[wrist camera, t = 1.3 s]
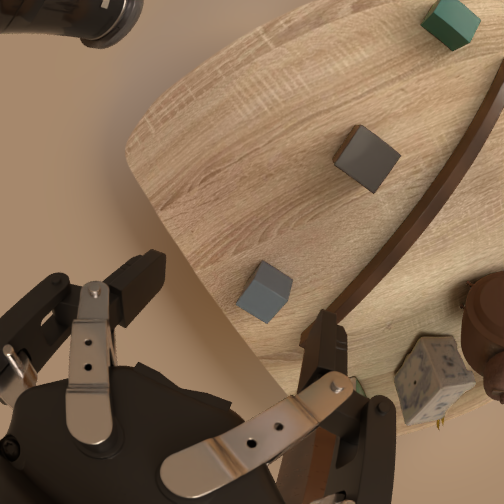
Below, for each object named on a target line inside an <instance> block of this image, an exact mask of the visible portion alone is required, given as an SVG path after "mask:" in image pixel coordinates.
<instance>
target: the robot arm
mask: <svg viewBox="0 0 504 504" xmlns="http://www.w3.org/2000/svg"><path fill="white" fill-rule="evenodd" d="M127 6H128V0H0V34H13V33H14V34H17V33H29V34H49V35H61V36H71V37H78V38H85V39H88V40H99V39H101V38H103V37H105V36H106V35H108V34H109V33H110V32H111V31H112V30H113V29H114V28H115V27H116V26H117V25H118V24H119V22H120V21H121V19H122V18H123V16H124V14H125V12H126V9H127ZM165 268H166V255H165V254H164V253H162V252H159V251H156V250H154V249H151V250H149V251H148V252H147V253H146V254H145V255H143V256H142V255H138V256H136V257H133V258H131V259H130V260H128V261H127V262H126V263H125V264H123V265H122V266H121V267H120V268H118V269H117V270H116V271H115V272H113V273H112V274H111V275H110V276H109V277H107V278H106V279H105V280H104V281H103V282H101V281H91V282H88V283H86V284H85V285H84V286H83V287H82V286H77V285H73V284H70V281H69V277H68V276H67V275H66V274H64V273H53V274H51V275H49V276H48V277H46V278H45V279H44V280H43V281H41V282H40V283H39V284H38V285H37V286H36V287H34V288H33V289H32V290H31V291H30V292H29V293H27V294H26V295H25V296H24V297H23V298H22V299H20V300H19V301H18V302H17V303H16V304H15V305H14V306H13V307H12V308H11V309H10V310H8V311H7V312H6V313H5V314H4V315H3V316H2V317H1V318H0V402H1V403H2V404H4V405H8V406H9V407H10V408H11V409H12V410H13V415H12V420H11V423H10V427H9V429H8V432H7V434H6V435H5V437H4V438H3V439H1V440H0V504H286V503H285V501H284V499H283V497H282V495H281V493H280V491H279V489H278V487H277V485H276V483H275V481H274V479H273V477H272V475H271V473H270V471H269V469H268V465H269V464H271V463H272V462H274V461H275V460H277V459H278V458H280V457H281V456H282V455H284V454H285V453H286V452H288V451H289V450H290V449H292V448H293V447H294V446H296V445H297V444H298V443H300V442H301V441H302V440H303V439H305V438H306V437H307V436H309V435H310V434H311V433H312V432H314V431H315V430H316V429H317V428H319V427H321V428H323V429H325V430H327V431H329V432H330V433H332V434H334V435H336V440H335V445H334V451H333V456H332V461H331V466H330V470H329V475H328V479H327V484H326V488H325V492H324V496H323V497H322V498H319V499H316V500H314V501H312V502H311V503H310V504H391V499H392V491H393V482H394V481H393V480H394V470H395V453H396V408H395V406H394V404H393V402H392V401H391V400H390V399H389V398H387V397H385V396H382V395H376V396H374V397H372V398H371V399H369V398H367V397H365V396H363V395H361V394H359V393H358V392H356V391H355V390H354V389H353V384H352V382H351V380H350V379H349V378H348V377H347V334H346V332H345V329H344V327H343V326H339V325H337V314H336V313H333V312H330V311H327V310H324V309H321V311H320V312H319V314H318V316H317V318H316V320H315V322H314V324H313V326H312V328H311V330H310V332H309V335H308V337H307V341H306V346H305V352H304V358H303V364H302V370H301V376H300V382H299V387H298V393H297V395H295V396H293V395H290V396H288V397H286V398H284V399H283V400H281V401H280V402H278V403H277V404H275V405H273V406H272V407H270V408H268V409H267V410H265V411H263V412H262V413H260V414H258V415H257V416H255V417H253V418H251V419H250V420H248V421H246V422H245V421H244V420H243V419H242V418H241V417H240V416H239V415H238V414H237V413H236V412H234V411H233V410H231V409H230V406H231V404H232V402H230V401H227V400H224V399H222V398H219V397H216V396H213V395H211V394H208V393H204V392H198V391H192V390H187V389H182V388H180V387H178V386H177V385H175V384H174V383H173V382H171V381H170V380H169V379H167V378H166V377H165V376H163V375H162V374H161V373H160V372H158V371H156V370H154V369H152V368H150V367H148V366H146V365H144V364H142V363H140V362H138V363H137V364H136V366H135V367H130V366H118V365H117V356H116V339H115V327H116V326H117V325H120V326H122V327H124V328H126V327H127V326H128V325H129V324H130V323H131V322H132V321H133V319H134V318H135V317H136V316H137V315H138V314H139V312H141V310H142V309H143V308H144V307H145V306H146V305H147V304H148V302H150V301H151V299H152V298H153V297H154V296H155V295H156V294H157V293H158V292H159V291H160V289H161V288H162V286H163V284H164V281H165ZM50 311H52V312H53V315H52V316H51V317H50V318H49V319H48V320H47V321H46V322H45V323H44V324H43V325H42V326H41V322H42V320H43V318H44V317H45V316H46V315H47V314H49V313H50ZM70 334H71V342H70V356H69V378H67V379H63V380H60V381H55V382H51V383H47V384H43V385H39V386H36V382H37V373H38V372H39V371H40V370H41V368H42V367H43V366H44V365H45V364H46V362H47V361H48V360H49V359H50V358H51V356H52V355H53V354H54V353H55V352H56V350H57V349H58V348H59V347H60V346H61V345H62V343H63V342H64V341H65V340H66V339H67V338H68V337H69V336H70Z"/></svg>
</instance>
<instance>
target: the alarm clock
mask: <svg viewBox="0 0 504 504" xmlns="http://www.w3.org/2000/svg"><path fill="white" fill-rule="evenodd" d="M466 285H469V286H470V287H471V289H470V290H469V293H468V295H467V299H466V304H465V306H464V305H463V304H461V305H460V308H461V309H464V312H463V317H462V326H461V348H462V352H463V355H464V357H465V359H466V361H467V362H468V364H469V365H470V366H471V367H472V368H473V369H474V370H475V371H476V372H477V373H478V374H480V375H481V376H483V384H484V389H485V391H486V393H487V395H488V396H489V397H491V398H492V399H494V400H497V401H500V403H501V404H504V271H501V272H496V273H492V274H489V275H487V276H485V277H483V278H481V279H480V280H478V281H477V282H476V283H475V284H472V283H470V281H467V282H466Z"/></svg>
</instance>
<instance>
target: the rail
mask: <svg viewBox="0 0 504 504" xmlns="http://www.w3.org/2000/svg"><path fill="white" fill-rule="evenodd" d="M503 108H504V59H503V62H502V64H501V66H500V69H499V71H498V73H497V75H496V77H495V79H494V81H493V83H492V86H491V88H490V90H489V92H488V93H487V95H486V97H485V99H484V101H483V103H482V105H481V107H480V109H479V110H478V112H477V114H476V116H475V118H474V119H473V121H472V123H471V125H470V126H469V128H468V130H467V131H466V133H465V135H464V136H463V138H462V140H461V141H460V143H459V144H458V146H457V148H456V149H455V151H454V152H453V154H452V155H451V157H450V158H449V160H448V161H447V163H446V164H445V166H444V167H443V169H442V170H441V172H440V173H439V175H438V176H437V178H436V179H435V181H434V182H433V183H432V185H431V186H430V188H429V189H428V190H427V192H426V193H425V194H424V196H423V197H422V199H421V200H420V201H419V203H418V204H417V205H416V207H415V208H414V209H413V210H412V212H411V213H410V214H409V216H408V217H407V218H406V220H405V221H404V222H403V223H402V225H401V226H400V227H399V228H398V230H397V231H396V232H395V233H394V235H393V236H392V237H391V238H390V239H389V241H388V242H387V243H386V244H385V245H384V247H383V248H382V249H381V250H380V251H379V252H378V254H377V255H376V256H375V257H374V258H373V259H372V261H371V262H370V263H369V264H368V265H367V266H366V267H365V269H364V270H363V271H362V272H361V273H360V274H359V275H358V276H357V277H356V278H355V280H354V281H353V282H352V283H351V284H350V285H349V286H348V287H347V288H346V289H345V290H344V291H343V292H342V294H341V295H340V296H339V297H338V298H337V299H336V300H335V301H334V302H333V303H332V304H331V305H330V306H329V307H328V308H327V309H326V310H327V311H330V312H333V313H336V314H337V324H338V323H339V322H340V321H341V320H342V319H343V318H344V317H345V316H346V315H347V314H348V313H349V312H351V311H352V310H353V309H354V308H355V307H356V306H357V305H358V304H359V303H360V302H361V301H362V300H363V299H364V298H365V297H366V296H367V295H368V294H369V292H370V291H371V290H372V289H373V288H374V287H375V286H376V285H377V284H378V283H379V282H380V281H381V280H382V279H383V278H384V277H385V276H386V274H387V273H388V272H389V271H390V270H391V269H392V268H393V267H394V266H395V265H396V263H397V262H398V261H399V260H400V259H401V258H402V257H403V255H404V254H405V253H406V252H407V251H408V250H409V248H410V247H411V246H412V245H413V244H414V242H415V241H416V240H417V239H418V238H419V236H420V235H421V234H422V233H423V231H424V230H425V229H426V228H427V226H428V225H429V224H430V223H431V221H432V220H433V219H434V217H435V216H436V215H437V213H438V212H439V211H440V210H441V208H442V207H443V205H444V204H445V203H446V201H447V200H448V199H449V197H450V196H451V194H452V193H453V192H454V190H455V189H456V187H457V186H458V184H459V183H460V181H461V180H462V178H463V177H464V175H465V174H466V172H467V171H468V169H469V168H470V166H471V165H472V163H473V161H474V160H475V158H476V157H477V155H478V153H479V152H480V150H481V148H482V147H483V145H484V143H485V142H486V140H487V138H488V136H489V134H490V133H491V131H492V129H493V127H494V125H495V123H496V122H497V120H498V118H499V116H500V114H501V112H502V110H503ZM314 322H315V321H314ZM314 322H313V323H312V324H311V325H310V326H309V327H308V328H307V329H306V330H305V331H304V332H303V333H302V334H301V338H300V344H299V346H300V347H302V348H304V349H305V346H306V341H307V337H308V335H309V332H310V330H311V328H312V326H313V324H314Z"/></svg>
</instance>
